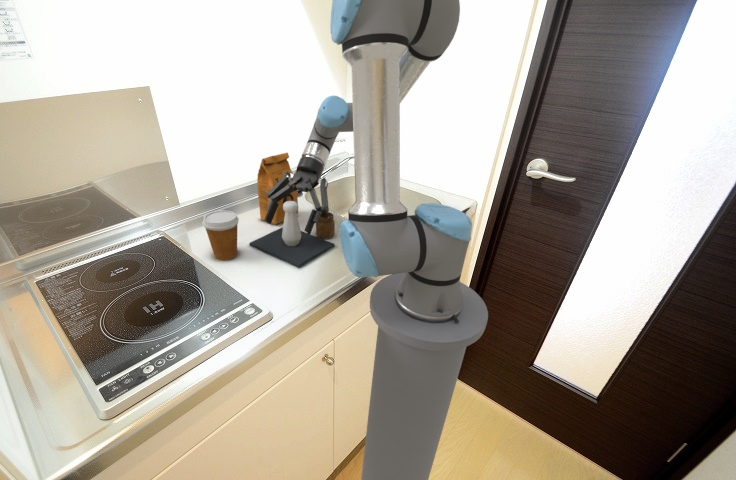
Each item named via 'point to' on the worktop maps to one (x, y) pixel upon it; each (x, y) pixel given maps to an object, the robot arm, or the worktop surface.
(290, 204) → the salt shaker
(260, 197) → the coffee package
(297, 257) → the mat
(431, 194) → the worktop surface
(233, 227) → the disposable coffee cup
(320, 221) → the brown jar with stick
